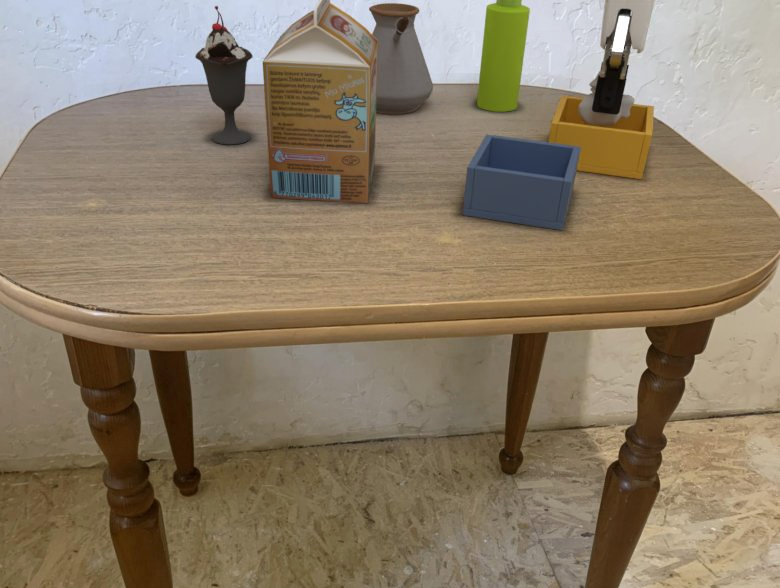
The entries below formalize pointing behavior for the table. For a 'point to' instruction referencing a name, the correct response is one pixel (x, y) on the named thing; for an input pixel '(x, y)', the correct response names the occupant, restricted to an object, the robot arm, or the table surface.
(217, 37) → the sundae
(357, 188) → the milk carton
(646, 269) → the table surface
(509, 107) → the soap dispenser
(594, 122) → the grey rounded piece
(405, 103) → the coffee pot
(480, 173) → the slate bin
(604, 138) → the mustard bin
